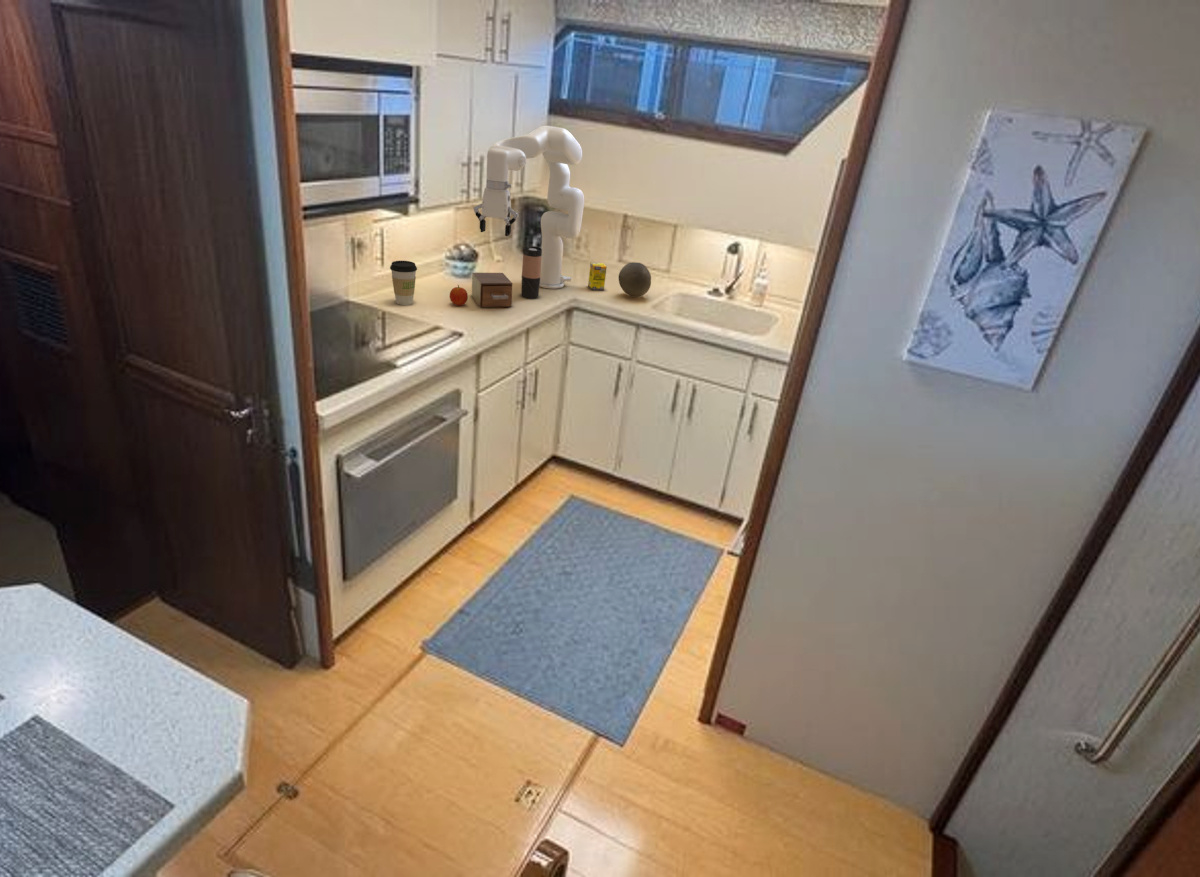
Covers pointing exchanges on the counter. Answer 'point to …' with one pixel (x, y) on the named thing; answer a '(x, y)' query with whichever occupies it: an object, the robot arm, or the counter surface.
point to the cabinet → (487, 279)
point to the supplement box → (597, 276)
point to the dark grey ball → (635, 279)
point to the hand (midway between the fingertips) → (495, 233)
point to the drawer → (496, 295)
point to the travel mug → (531, 272)
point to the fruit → (458, 296)
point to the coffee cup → (403, 281)
